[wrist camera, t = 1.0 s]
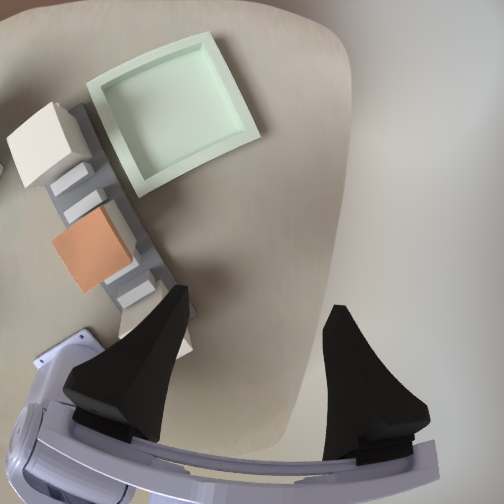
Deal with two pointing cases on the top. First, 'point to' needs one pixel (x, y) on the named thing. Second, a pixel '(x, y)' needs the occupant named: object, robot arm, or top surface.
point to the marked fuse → (96, 246)
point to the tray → (171, 111)
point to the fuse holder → (108, 188)
